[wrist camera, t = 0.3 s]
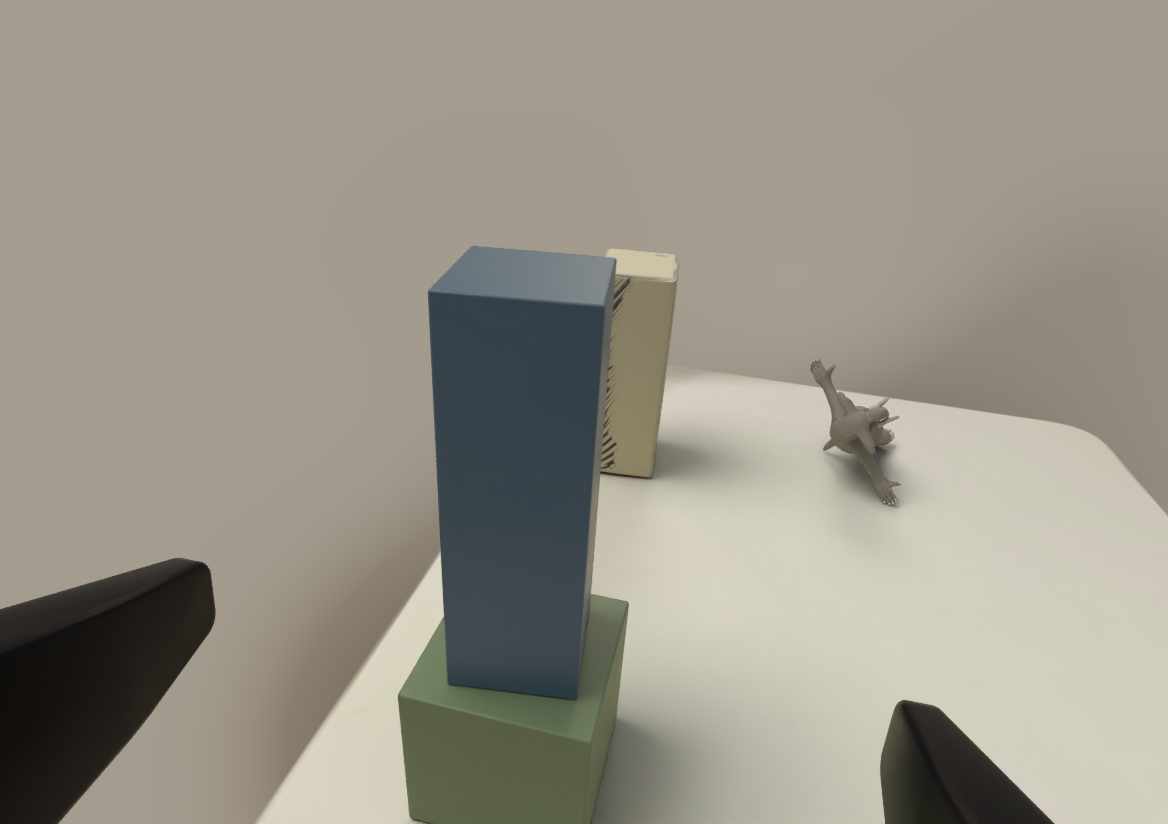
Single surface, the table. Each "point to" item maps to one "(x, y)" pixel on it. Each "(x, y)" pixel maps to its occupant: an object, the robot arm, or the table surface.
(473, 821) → the riser
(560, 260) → the peg
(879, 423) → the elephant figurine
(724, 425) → the table surface
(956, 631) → the table surface
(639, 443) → the box
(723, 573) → the table surface
